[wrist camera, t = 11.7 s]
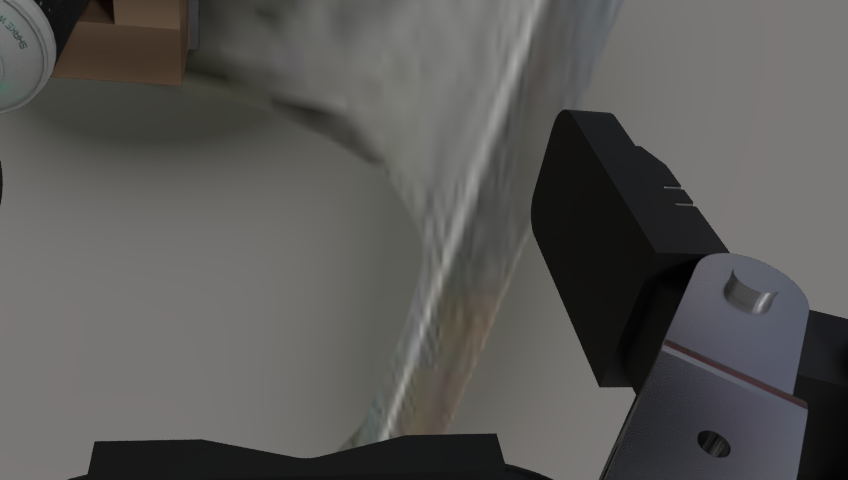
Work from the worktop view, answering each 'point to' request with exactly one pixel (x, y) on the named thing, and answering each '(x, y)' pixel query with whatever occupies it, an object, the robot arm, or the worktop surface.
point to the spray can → (32, 45)
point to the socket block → (131, 41)
